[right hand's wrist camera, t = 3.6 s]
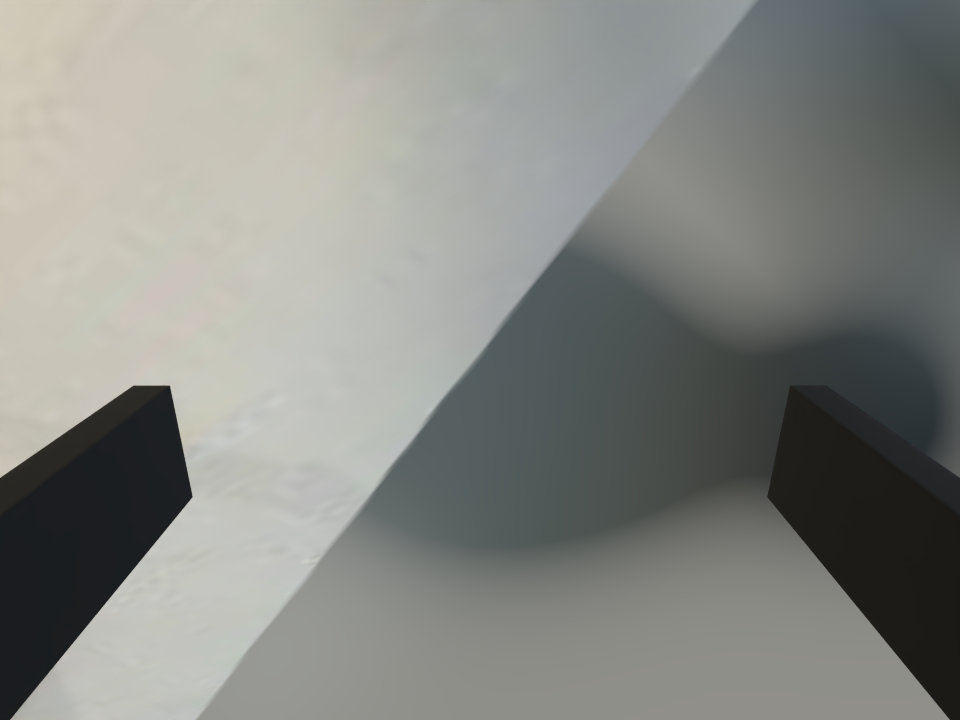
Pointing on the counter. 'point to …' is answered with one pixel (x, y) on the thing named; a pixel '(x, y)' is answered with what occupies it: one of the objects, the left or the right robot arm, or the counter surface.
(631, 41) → the counter surface
